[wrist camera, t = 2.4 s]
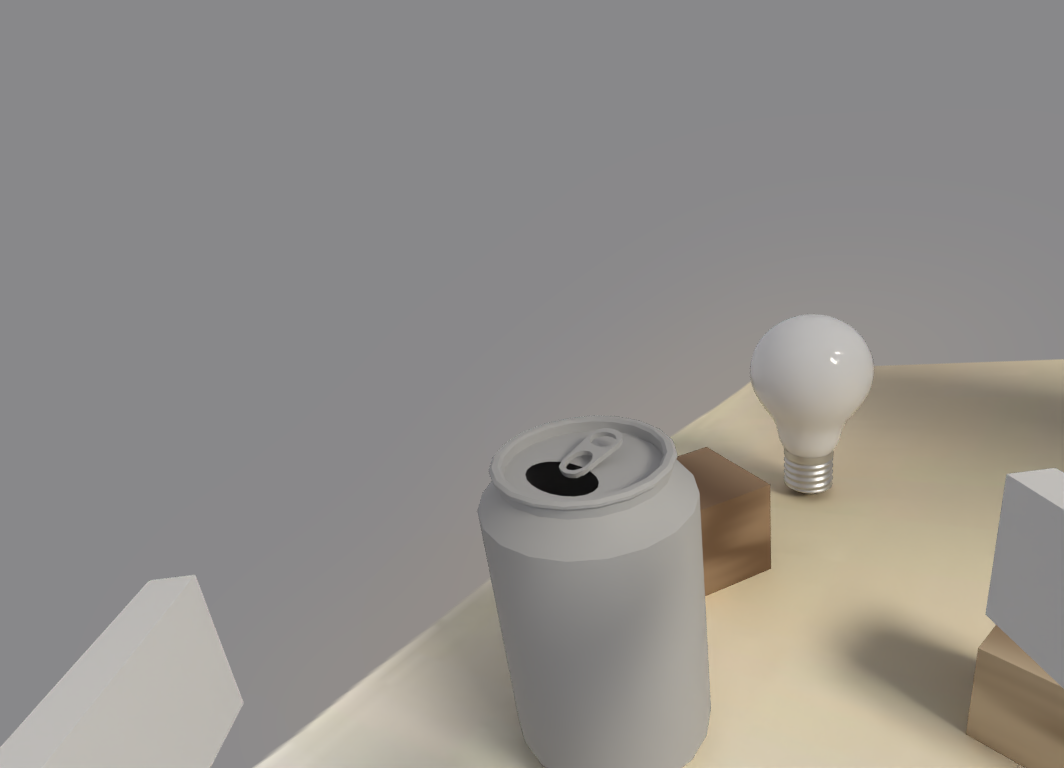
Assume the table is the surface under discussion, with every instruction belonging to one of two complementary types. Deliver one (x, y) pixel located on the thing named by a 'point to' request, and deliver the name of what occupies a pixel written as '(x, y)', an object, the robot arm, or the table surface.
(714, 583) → the walnut block
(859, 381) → the lightbulb
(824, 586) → the table surface
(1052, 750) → the oak block
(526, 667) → the can
